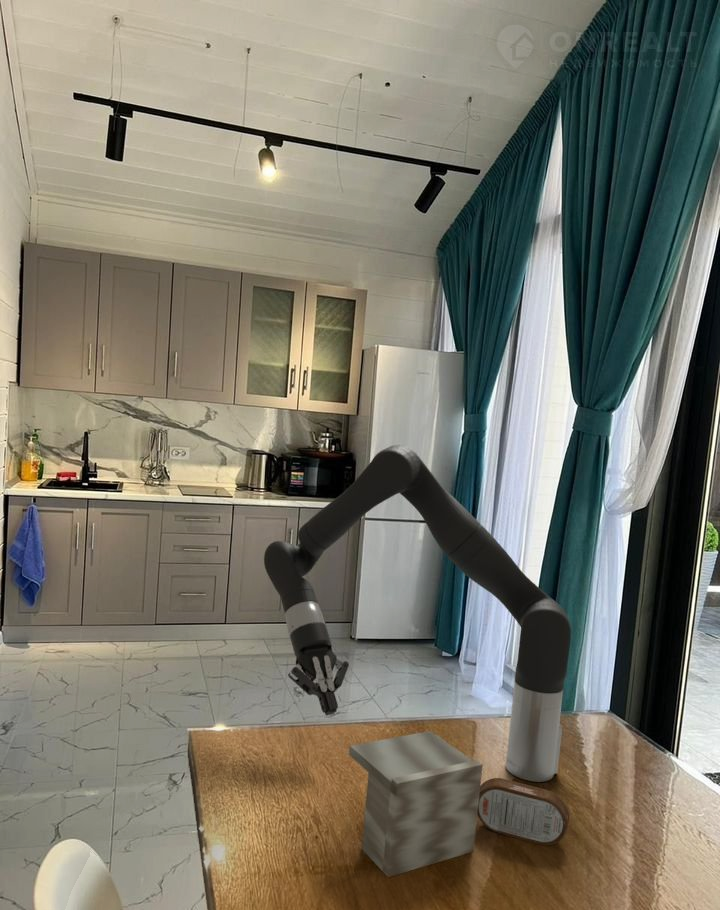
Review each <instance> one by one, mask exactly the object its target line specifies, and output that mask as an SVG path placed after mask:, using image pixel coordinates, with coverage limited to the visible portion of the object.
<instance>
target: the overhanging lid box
mask: <svg viewBox="0 0 720 910" xmlns="http://www.w3.org/2000/svg"><path fill="white" fill-rule="evenodd" d="M348 755H349V756H350V758H352V759H353V760H354V761H355V762H356V763H358V765H359V766H361V767H362V768H363V769H364V770H365V771H366V772H368V775H367V786H366V787H367V788H366V795H365V807H364V816H363V828H362V838H361V850H362V851H363V852H364V853H365V854H366V855H367V856H368V857H369V859H370V860H371V861H372V862H374V864H375V865H376V866H377V867H378V869H380V870H381V872H382V873H383V874H384V875H385V876H387V878H390V877H394V876H397V875H400V874H403V873H406V872H410V871H413V870H417V869H419V868H424V867H427V866H429V865H433V864H436V863H440V862H443V861H447V860H450V859H453V858H456V857H460V856H464V855H467V854H469V853H473V852H474V848H475V840H476V838H475V837H476V829H477V820H478V815H477V813H478V803H479V794H480V786H481V785H482V783H481V782H482V774H483V766H484V765H483V764H482V763H481V762H480V761H478V760H477V759H475V760H472V759H471V758H469V757H468V756H466V754H463V753H462V752H461V751H460V750H458V749H457V748H456V747H454V746H452V745H451V744H450V743H448V742H446V741H445V740H444V739H443V738H441V737H439V736H438V735H436V733H434V732H432V731H431V730H428V731H423V732H417V733H411V734H406V735H401V736H396V737H391V738H390V737H389V738H385V739H379V740H375V741H369V742H368V741H367V742H363V743H357V744H352V745H349V750H348Z"/></svg>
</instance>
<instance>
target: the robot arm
mask: <svg viewBox="0 0 720 910" xmlns="http://www.w3.org/2000/svg"><path fill="white" fill-rule="evenodd" d="M398 494H400V495H401V496H402V497H404V499H406V500H407V502H408V503H410V504H411V505H412V506H413V507H414V508H415V509H416V511H417V512H418V513H419V514H420V516H421V517H422V519H423V520H424V522H425V524H426V526H427V528H428V530H429V531H430V533H431V535H432V537H433V539H434V540H435V542H436V543H437V545H438V546H439V548H440V549H441V550H442V552H443V553H444V554H445V555H446V556H447V557H448V558H449V559H450V561H451V562H452V563H453V564H454V565H455V566H456V567H457V568H458V569H459V571H461V572H462V573H463V574H464V575H465V576H467V577H468V578H469V580H470V579H471V580H472V581H473V582H474V583H475V584H477V585H478V586H479V587H481V588H483V589H484V590H486V591H487V592H489V593H490V594H491V595H493V596H494V597H495V598H496V599H497V600H498V601H499V602H500V603H501V604H502V605H503V606H504V607H505V609H507V611H508V612H509V613H510V614H511V616H512V617H513V618H514V619H515V621H516V622H517V624H518V625H519V626H520V633H519V634H520V635H519V642H518V653H517V660H516V661H517V662H516V665H515V666H516V668H515V673H514V674H515V675H514V685H513V692H512V702H511V713H510V720H509V721H510V723H509V731H508V738H507V747H506V748H507V750H506V755H505V756H506V757H505V769H507V771H508V773H510V774H511V775H513V776H514V777H517V778H519V779H522V780H525V781H529V782H537V783H541V782H543V783H544V782H547V781H550V780H552V779H553V778H554V775H555V774H558V768H559V760H560V752H561V744H562V743H561V742H562V735H563V734H562V733H563V725H562V724H560V723H561V722H560V721H561V719H560V718H561V712H562V711H561V710H562V704H563V703H562V702H563V695H564V693H563V692H564V685H565V681H566V677H567V672H568V671H567V670H568V663H569V656H570V655H569V654H570V650H571V649H570V647H571V640H572V639H571V638H572V629H571V628H572V627H571V623H570V621H569V620H570V619H569V616H568V615H567V612H566V611H565V609H564V608H563V607H562V606H561V605H560V604H559V603H558V602H556V601H555V600H554V599H553V598H552V597H550V596H549V595H548V594H547V593H546V592H545V591H543V590H542V589H541V588H540V587H539V586H538V585H536V584H535V583H534V582H533V581H532V580H531V579H530V578H529V577H528V576H526V574H525V573H524V572H523V571H522V570H521V568H520V567H519V566H518V565H517V564H516V562H515V561H514V560H513V558H512V557H511V556H510V555H509V553H508V552H507V551H506V550H505V549H504V548H503V546H502V545H501V544H500V543H499V542H498V541H497V539H495V538H494V536H493V535H492V534H491V533H490V532H489V531H488V530H487V528H485V527H484V526H483V525H482V524H481V523H480V522H479V521H478V520H477V519H476V518H475V517H474V515H472V514H471V513H470V512H469V510H467V509H466V508H465V507H464V506H463V505H462V504H461V503H460V502H459V501H458V499H456V498H455V497H454V496H453V495H452V494H450V493H449V492H448V491H447V490H446V489H445V488H444V487H443V485H442V484H441V483H440V482H439V481H438V480H437V478H436V477H435V475H434V474H433V473H432V472H431V470H430V469H429V468H428V466H427V465H426V464H425V463H424V461H423V460H422V459H421V457H420V456H419V455H418V454H417V453H416V451H414V450H413V449H411V448H410V447H408V446H406V445H403V444H402V445H400V444H395V445H390V446H388V447H386V448H384V449H381V450H380V451H379V452H378V453H377V454H375V456H374V457H373V458H372V459H371V461H370V462H369V463H368V464H367V466H366V467H365V468H364V469H363V471H362V472H361V474H359V476H358V477H357V478H356V479H355V480H354V482H353V483H352V484H350V485H349V487H347V488H346V489H345V490H344V491H343V492H342V493H341V494H339V496H337V497H336V498H334V499H333V500H332V501H331V502H330V503H328V504H327V505H325V506H324V507H323V508H322V509H320V510H319V511H318V512H317V513H315V515H314V516H312V517H311V518H310V519H309V520H308V521H306V522H305V523H304V524H303V525H302V526H301V527H300V528H299V529H298V532H297V538H298V540H299V544H297V545H295V544H293V543H289V542H286V541H282V540H276V541H273V542H271V543H269V545H268V546H267V547H266V549H265V551H264V555H263V565H264V568H265V571H266V574H267V575H268V576H267V577H268V578H269V579H270V581H271V583H272V585H273V587H274V589H275V590H276V592H277V594H278V595H279V597H280V600H281V604H282V607H283V612H284V615H285V622H286V627H287V632H288V634H289V638H290V642H291V646H292V650H293V653H294V655H295V658H296V659H295V666H294V667H293V668H292V669H291V670H290V671H289V673H287V677H288V678H289V679H290V680H291V681H293V682H294V683H295V684H296V685H297V686H298V687H299V688H301V690H303V691H304V692H305V693H306V694H307V695H308V696H312V695H313V696H316V697H317V698H318V701H319V705H320V708H321V711H322V713H323V714H324V715H325V716H331V715H335V713H337V710H338V708H339V704H338V701H337V698H336V694H335V693H336V692H337V690H338V689H339V688H340V687H342V684H343V681H344V680H345V677H346V674H347V671H348V669H349V665H350V663H349V661H347V660H346V661H341V660H339V659H337V658H338V657H337V655H336V653H335V652H334V651H333V648H332V641H331V638H330V634H329V631H328V628H327V624H326V622H325V618H324V616H323V613H322V610H321V607H320V606H319V603H318V600H317V596H316V593H315V589H314V587H313V585H312V583H311V582H310V581H309V580H308V579H306V578H304V576H306V575H307V574H309V573H310V572H311V570H312V569H313V568H314V566H315V565H316V563H317V562H319V560H320V558H321V557H322V555H323V553H324V552H325V551H326V550H327V549H329V548H330V547H331V546H332V545H333V544H335V543H336V542H337V541H338V540H339V539H341V538H342V537H343V536H344V535H345V534H346V533H347V532H348V531H349V530H351V528H353V526H354V525H356V523H357V522H358V521H359V520H360V519H361V518H362V517H363V516H364V515H366V514H367V513H368V512H370V511H371V510H372V509H374V508H375V507H377V506H378V505H380V504H381V503H383V502H385V501H387V500H388V499H391V498H392V497H394V496H395V495H398ZM333 671H334V672H335V676H334V674H333Z"/></svg>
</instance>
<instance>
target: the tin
mask: <svg viewBox="0 0 720 910" xmlns="http://www.w3.org/2000/svg"><path fill="white" fill-rule="evenodd" d="M477 818H478V819H479V821H480V822H481V823H482V825H483V826H485V827H486V828H487V829H489V830H490V831H492V832H494V833H497V834H501V835H505V836H509V837H512V838H516V839H519V840H522V841H527V842H529V843H532V842H533V844H536V843H537V845H539V844H541V845H540V846H552V845H556V844H557V843H558V842H561V841H562V840H563V838H564V837H565V835H566V833H567V831H568V827H569V823H570V813H569V810H568V806H567V805H566V803H565V802H564V800H563V799H562V798H561V797H560V796H559V795H557V794H556V793H555V792H553V791H550V790H548V789H544V788H540V787H536V786H532V785H529V784H524V783H521V782H516V781H513V780H510V779H506V778H502V777H494V778H490V779H487V780H485V781H484V782H483V783H481V785H480V794H479V803H478V813H477Z"/></svg>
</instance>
